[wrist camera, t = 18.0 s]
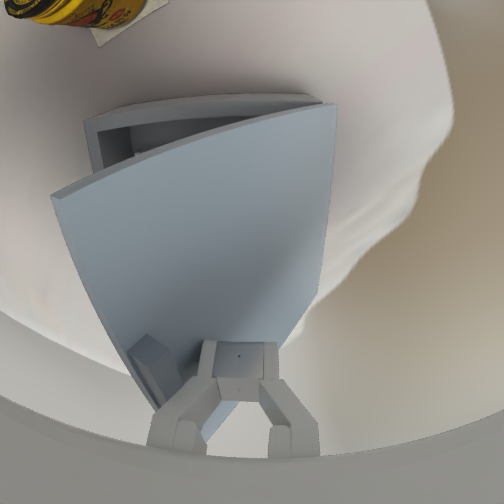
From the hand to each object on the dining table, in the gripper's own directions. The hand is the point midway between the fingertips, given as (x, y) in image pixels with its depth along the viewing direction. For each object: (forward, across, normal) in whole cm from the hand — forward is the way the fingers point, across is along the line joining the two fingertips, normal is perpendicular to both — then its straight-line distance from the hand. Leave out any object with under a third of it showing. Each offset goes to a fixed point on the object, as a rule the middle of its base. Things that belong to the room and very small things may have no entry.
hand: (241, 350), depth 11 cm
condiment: (+18, +12, -19) cm, 29 cm away
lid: (+5, -1, 0) cm, 5 cm away
